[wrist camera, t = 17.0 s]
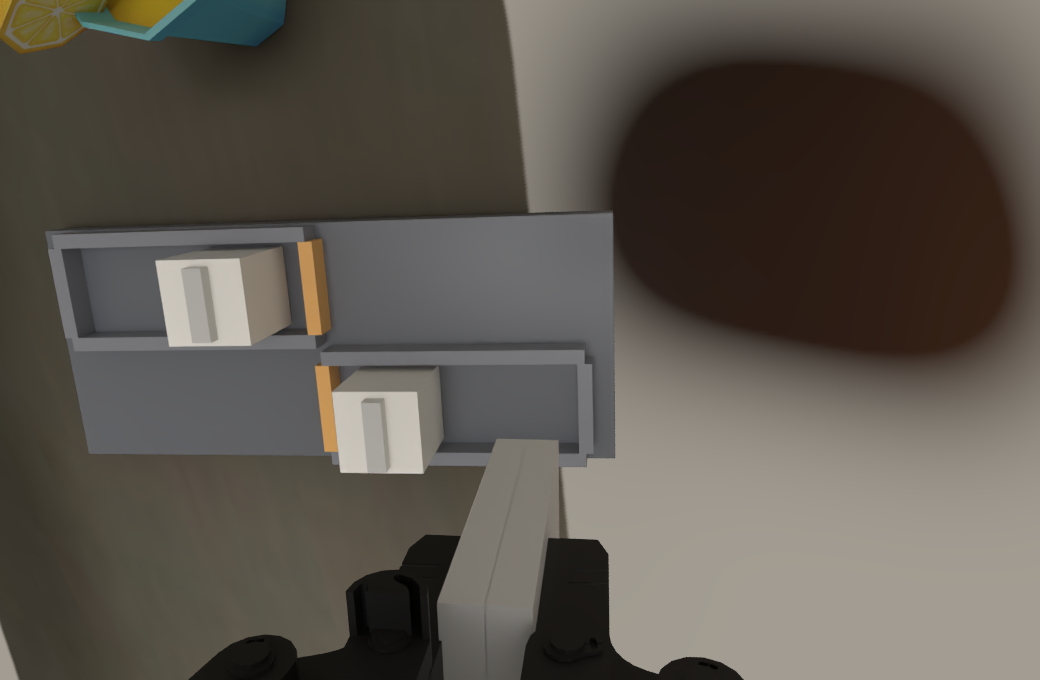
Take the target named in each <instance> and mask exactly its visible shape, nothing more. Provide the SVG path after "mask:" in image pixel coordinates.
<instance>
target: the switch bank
mask: <svg viewBox="0 0 1040 680" xmlns="http://www.w3.org/2000/svg"><path fill="white" fill-rule="evenodd" d="M45 233H46V238H47V243H48V248H49V249H48V252H49V257H50V262H51V267H52V272H53V277H54V282H55V288H56V293H57V298H58V303H59V308H60V313H61V318H62V323H63V328H64V333H65V338H66V339H67V344H68V349H69V354H70V359H71V364H72V369H73V374H74V379H75V384H76V389H77V394H78V399H79V404H80V409H81V414H82V419H83V424H84V430H85V435H86V440H87V445H88V450H89V454H186V455H301V456H332V463H333V465H340V463H339V454H338V445H337V435H336V426H335V417H334V408H333V399H332V391H333V390H335V389H336V388H337V387H338V386H339V385H340V384H342V383H343V382H344V381H345V380H346V379H347V378H348V377H350V376H351V375H352V374H353V373H354V372H355V371H357V370H358V369H359V368H360V367H361V366H397V365H439V373H440V387H441V401H442V415H443V430H444V439H443V440H442V442H441V444H440V446H439V447H438V449H437V451H436V453H435V454H434V456H433V458H432V460H431V461H430V463H429V465H428V466H487V464H488V461H489V458H490V456H491V453H492V450H493V447H494V445H495V442H496V439H532V440H559V467H587V458H615V391H614V287H613V286H614V283H613V282H614V278H613V211H612V210H606V211H577V212H545V213H514V214H483V215H452V216H421V217H390V218H359V219H328V220H297V221H266V222H236V223H205V224H174V225H143V226H112V227H81V228H65V229H58V230H50V231H45ZM271 246H283V255H284V263H285V271H286V280H287V288H288V296H289V305H290V313H291V321H292V324H291V325H289V326H287V327H285V328H283V329H281V330H279V331H278V332H276V333H274V334H272V335H270V336H268V337H267V338H265V339H263V340H261V341H259V342H257V343H255V344H254V345H252V346H183V347H169V342H168V336H167V330H166V324H165V318H164V311H163V305H162V299H161V293H160V287H159V281H158V275H157V269H156V262H155V261H156V260H160V259H164V258H168V257H173V256H177V255H181V254H185V253H190V252H194V251H198V250H202V249H207V248H235V247H271Z"/></svg>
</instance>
